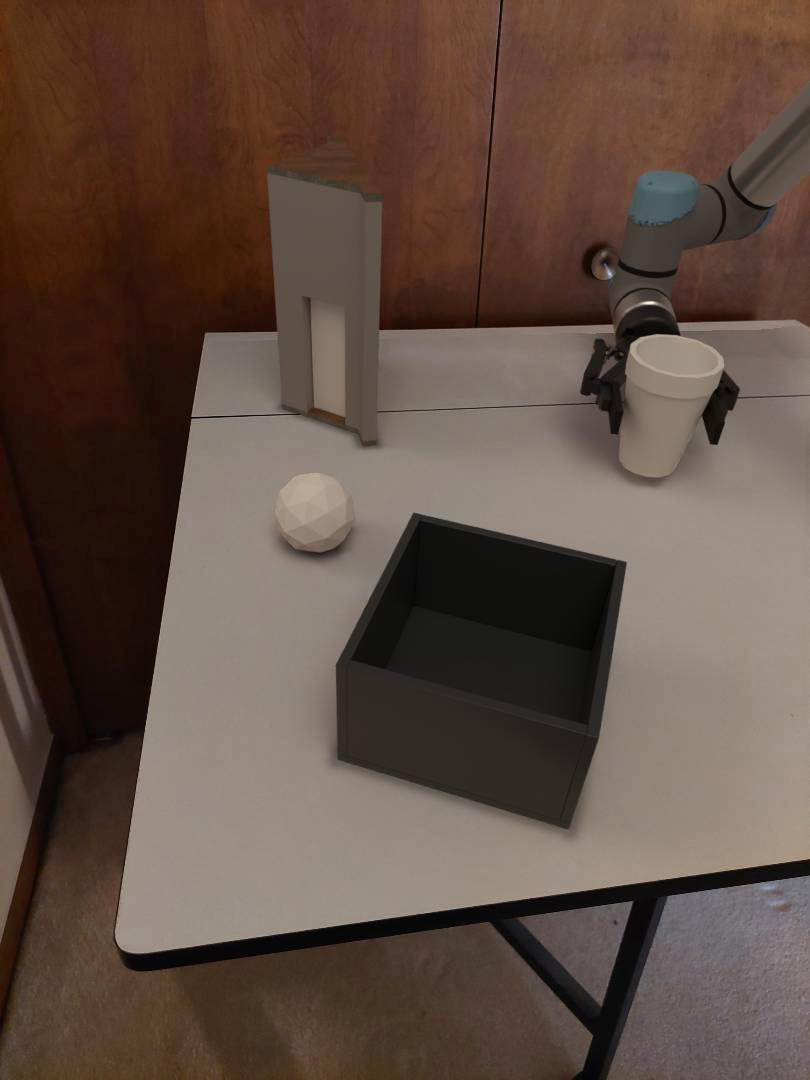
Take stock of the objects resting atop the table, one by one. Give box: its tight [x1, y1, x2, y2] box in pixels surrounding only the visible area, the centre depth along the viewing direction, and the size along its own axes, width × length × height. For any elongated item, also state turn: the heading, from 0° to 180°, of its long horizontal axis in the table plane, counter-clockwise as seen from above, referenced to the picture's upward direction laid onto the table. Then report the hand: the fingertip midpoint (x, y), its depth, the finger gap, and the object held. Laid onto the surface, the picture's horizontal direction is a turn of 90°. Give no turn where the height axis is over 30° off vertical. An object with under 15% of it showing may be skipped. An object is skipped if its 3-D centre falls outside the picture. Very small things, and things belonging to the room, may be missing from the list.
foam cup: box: [618, 334, 725, 478], centre depth 86 cm, size 10×9×13 cm
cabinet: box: [266, 135, 383, 447], centre depth 91 cm, size 21×10×28 cm, turn 14°
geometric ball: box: [273, 472, 356, 553], centre depth 77 cm, size 8×8×8 cm
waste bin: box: [335, 512, 628, 830], centre depth 62 cm, size 18×18×11 cm
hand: (667, 428), depth 82 cm, fingers closed on foam cup, 9 cm apart
